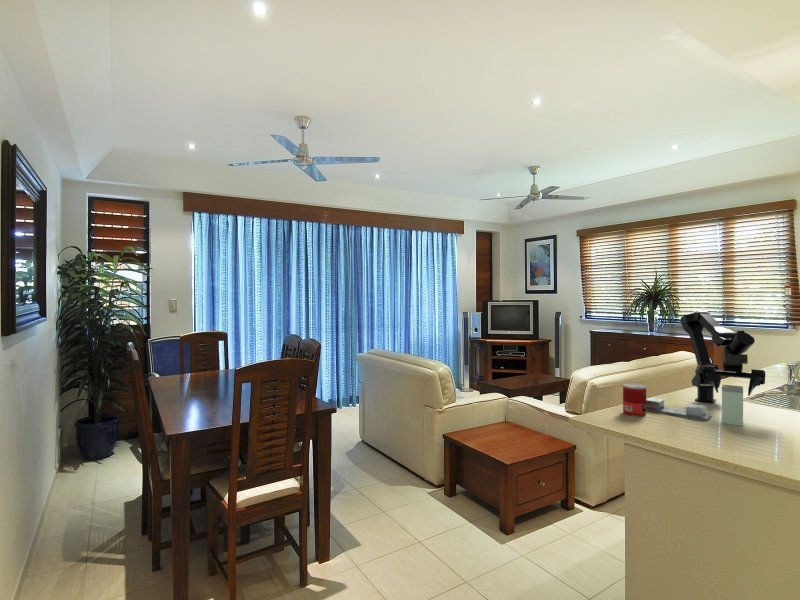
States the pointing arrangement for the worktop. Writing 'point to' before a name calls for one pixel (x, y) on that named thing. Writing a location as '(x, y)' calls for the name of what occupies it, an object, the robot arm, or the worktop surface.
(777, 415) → the worktop surface
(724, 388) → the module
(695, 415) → the rail
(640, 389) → the canned food
